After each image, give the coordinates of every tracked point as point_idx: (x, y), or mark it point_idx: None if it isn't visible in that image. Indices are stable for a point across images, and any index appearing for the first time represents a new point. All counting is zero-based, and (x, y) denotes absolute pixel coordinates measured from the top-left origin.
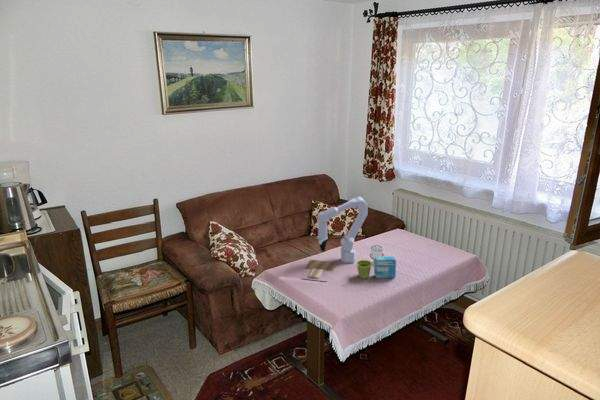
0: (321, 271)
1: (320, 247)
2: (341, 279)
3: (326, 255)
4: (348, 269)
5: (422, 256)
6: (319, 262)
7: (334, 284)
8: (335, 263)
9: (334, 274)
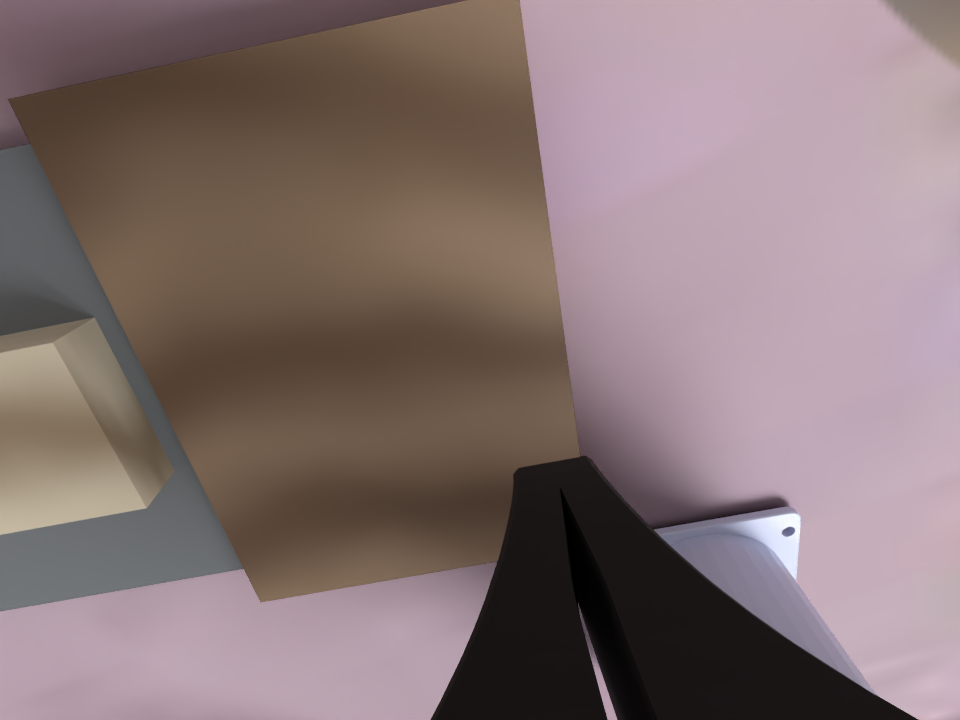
0: (62, 518)
1: (500, 562)
2: (190, 697)
3: (918, 207)
4: None
5: None
6: (457, 280)
7: (19, 684)
8: None
9: None
